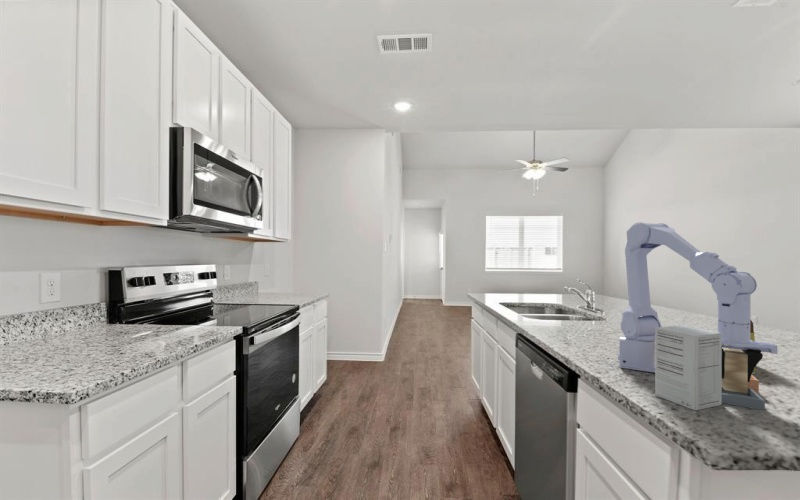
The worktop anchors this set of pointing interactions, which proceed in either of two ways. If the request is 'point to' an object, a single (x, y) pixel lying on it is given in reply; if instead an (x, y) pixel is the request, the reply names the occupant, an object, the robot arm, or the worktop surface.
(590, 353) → the worktop surface
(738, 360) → the maple peg
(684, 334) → the supplement box
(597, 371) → the worktop surface
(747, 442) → the worktop surface
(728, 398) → the slate tray
